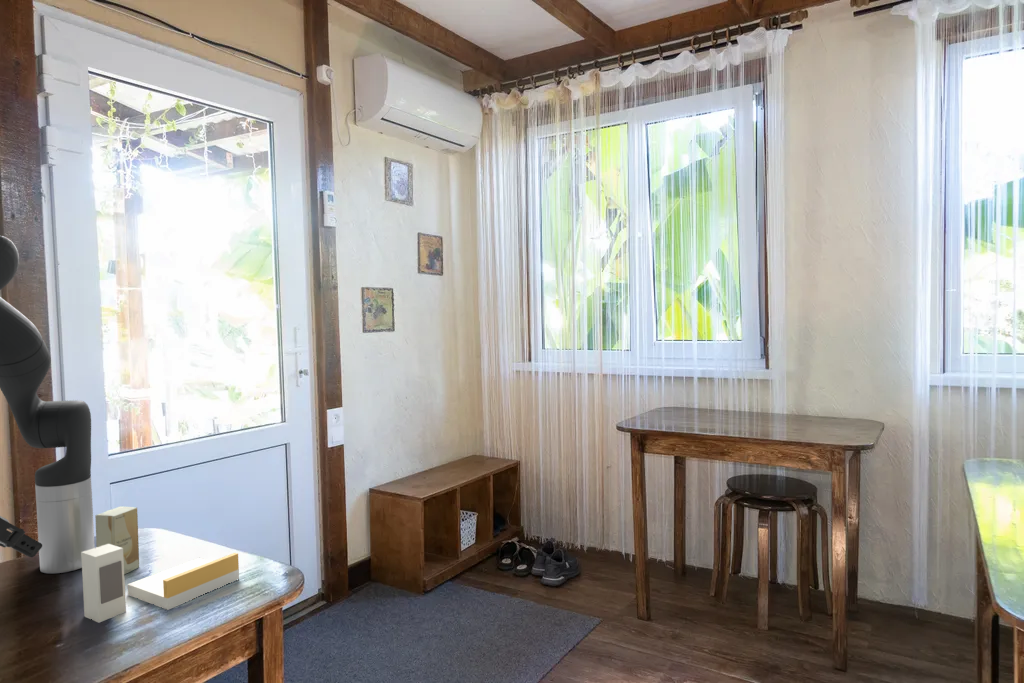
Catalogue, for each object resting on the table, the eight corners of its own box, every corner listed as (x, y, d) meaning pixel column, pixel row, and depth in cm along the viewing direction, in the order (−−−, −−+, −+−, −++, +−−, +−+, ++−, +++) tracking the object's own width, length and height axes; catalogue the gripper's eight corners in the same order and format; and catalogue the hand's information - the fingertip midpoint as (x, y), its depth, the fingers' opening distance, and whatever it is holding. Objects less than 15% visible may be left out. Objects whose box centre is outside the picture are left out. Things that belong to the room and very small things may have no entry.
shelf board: (128, 595, 117) (126, 567, 117) (199, 567, 129) (198, 542, 129) (167, 610, 111) (166, 581, 111) (239, 579, 123) (238, 553, 123)
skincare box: (115, 579, 124) (112, 516, 123) (96, 578, 125) (93, 515, 124) (141, 566, 130) (138, 506, 130) (122, 565, 131) (119, 505, 130)
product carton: (84, 616, 109) (81, 552, 109) (111, 606, 113) (108, 543, 112) (99, 623, 107) (96, 557, 106) (126, 612, 111) (123, 548, 110)
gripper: (-33, 473, 88) (65, 531, 98) (-76, 462, 95) (20, 517, 105) (-81, 524, 83) (27, 579, 94) (-123, 508, 90) (-18, 560, 101)
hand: (23, 546), depth 99 cm, fingers open, 8 cm apart
